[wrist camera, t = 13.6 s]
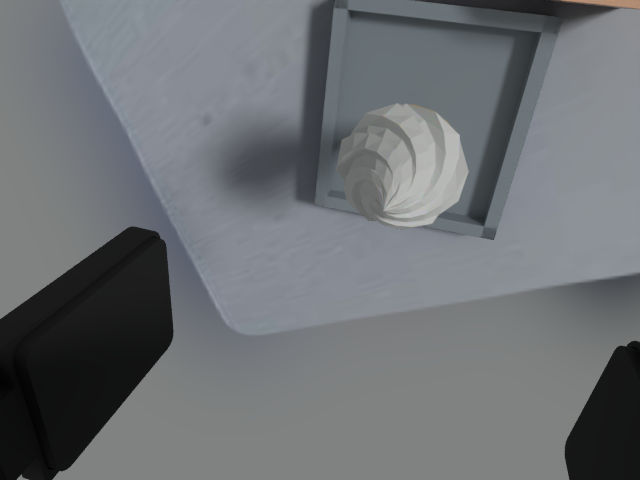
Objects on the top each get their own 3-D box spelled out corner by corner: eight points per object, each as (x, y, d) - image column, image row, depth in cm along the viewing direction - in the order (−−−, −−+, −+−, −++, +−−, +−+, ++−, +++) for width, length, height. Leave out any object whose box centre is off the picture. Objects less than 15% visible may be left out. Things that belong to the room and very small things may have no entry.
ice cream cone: (383, 166, 31) (323, 283, 18) (369, 79, 29) (290, 142, 16) (471, 155, 29) (474, 277, 16) (463, 61, 27) (460, 116, 14)
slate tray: (342, -8, 28) (335, -9, 26) (556, 16, 26) (563, 17, 24) (321, 194, 34) (314, 204, 32) (491, 227, 32) (493, 240, 30)
